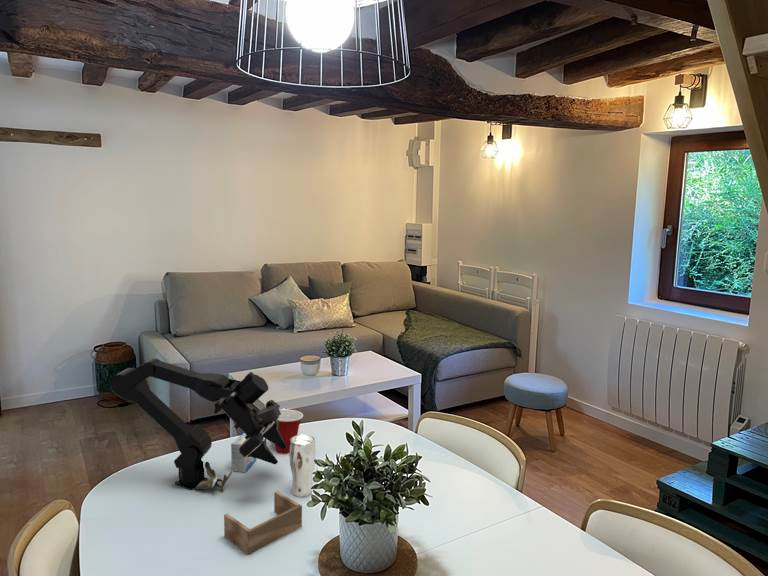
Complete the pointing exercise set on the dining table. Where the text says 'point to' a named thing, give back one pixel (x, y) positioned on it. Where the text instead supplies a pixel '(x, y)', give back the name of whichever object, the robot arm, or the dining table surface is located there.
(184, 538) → the dining table surface
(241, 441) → the medicine box
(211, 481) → the eagle figurine
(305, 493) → the beer glass
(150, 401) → the robot arm
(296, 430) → the plastic cup
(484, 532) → the dining table surface
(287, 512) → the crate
